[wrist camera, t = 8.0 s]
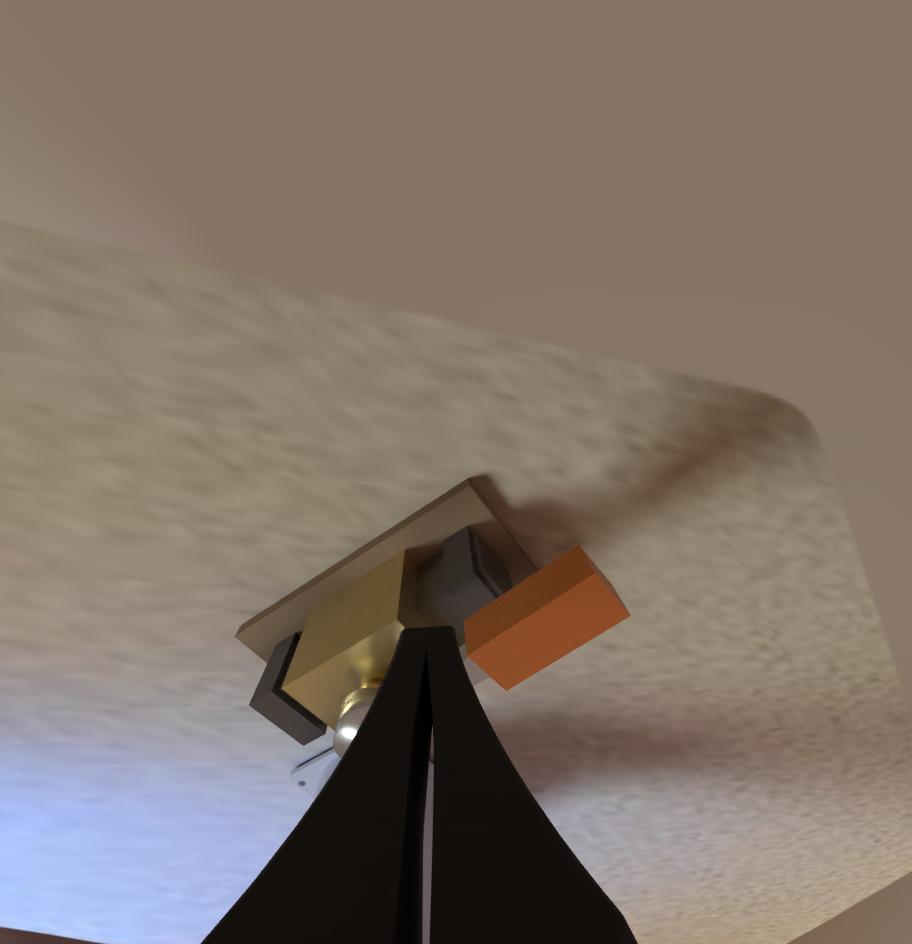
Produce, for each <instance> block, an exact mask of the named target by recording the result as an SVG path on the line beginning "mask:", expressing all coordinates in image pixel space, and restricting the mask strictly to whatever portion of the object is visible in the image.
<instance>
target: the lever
mask: <svg viewBox="0 0 912 944" xmlns="http://www.w3.org/2000/svg"><path fill="white" fill-rule="evenodd" d="M629 616H631V615H630V614H629V612H628V610H627V609H626V607H625V605H624V604H623V602H622V600H621V599H620V597H619V595H618V594H617V592H616V590H615V589H614V587H613V586H612V584H611V583H610V581H609V580H608V579H607V578H606V577H605V575H604V574H603V573H602V572H601V571H600V569H599V568H598V567H597V566H596V565H595V563H594V562H593V561H592V560H591V559H590V557H589V556H588V555H587V554H586V553H585V551H584V550H583V549H582V548H581V547H580V545H579V544H578V545H577V546H575V547H574V548H572V549H571V550H569V551H568V552H566V553H565V554H563V555H562V556H560V557H559V558H557V559H556V560H554V561H553V562H551V563H550V564H548V565H547V566H545V567H544V568H542V569H541V570H539V571H538V572H536V573H535V574H533V575H532V576H530V577H529V578H527V579H526V580H524V581H523V582H521V583H520V584H518V585H517V586H515V587H514V588H512V589H511V590H509V591H508V592H506V593H505V594H503V595H502V596H500V597H499V598H497V599H496V600H494V601H493V602H491V603H490V604H488V605H487V606H485V607H484V608H482V609H481V610H479V611H478V612H476V613H475V614H473V615H472V616H470V617H469V618H467V619H466V620H464V630H465V641H466V643H465V644H463V645H462V646H460V647H459V651H460V654H461V657H462V660H463V663H464V666H465V669H466V671H467V674H468V676H469V679H470V681H471V683H472V686H475V685H476V684H478V683H479V682H481V681H483V680H484V679H486V678H488V677H489V676H490V677H491V678H492V679H494V680H495V681H496V682H497V683H498V684H499V685H500V686H501V687H503V688H504V689H505V690H506V691H507V690H509V689H510V688H512V687H514V686H515V685H517V684H519V683H520V682H522V681H523V680H525V679H527V678H528V677H530V676H532V675H533V674H535V673H537V672H538V671H540V670H542V669H543V668H545V667H547V666H548V665H550V664H552V663H553V662H555V661H557V660H558V659H560V658H562V657H563V656H565V655H566V654H568V653H570V652H571V651H573V650H575V649H576V648H578V647H580V646H581V645H583V644H585V643H586V642H588V641H590V640H591V639H593V638H595V637H596V636H598V635H600V634H601V633H603V632H605V631H606V630H608V629H609V628H611V627H613V626H614V625H616V624H618V623H619V622H621V621H623V620H624V619H626V618H628V617H629ZM379 688H380V687H365V688H361V689H358V690H356V691H353V692H352V693H350V694H349V695H348V696H347V697H346V698H345V699H344V700H343V702H342V705H341V709H340V714H339V718H338V723H337V727H336V732H335V736H334V741H333V747H334V750H335V752H336V754H337V755H338V756H339V757H340V758H341V759H342V757H343V755H344V754H345V752H346V750H347V749H348V747H349V745H350V743H351V742H352V740H353V738H354V736H355V735H356V733H357V731H358V729H359V727H360V725H361V723H362V721H363V720H364V718H365V716H366V714H367V712H368V710H369V708H370V706H371V704H372V702H373V700H374V698H375V696H376V694H377V692H378V690H379Z"/></svg>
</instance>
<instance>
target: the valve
mask: <svg viewBox="0 0 912 944" xmlns="http://www.w3.org/2000/svg"><path fill="white" fill-rule="evenodd" d="M512 588H513V584H512V580H511V577H510V573H509V571H508V570H507V568H506V567H505V566H504V565H503V563H502V562H501V561H500V560H499V558H498V557H497V556H496V555H495V553H494V552H493V551H492V550H491V548H490V547H489V546H488V544H487V543H486V542H485V541H484V539H483V538H482V537H481V536H480V534H479V533H478V532H477V531H476V530H475V531H474V532H472V531H471V530H470V529H469V528H468V526H466V527H464V528H462V529H461V530H459V531H458V532H456V533H454V534H453V535H451V536H450V537H448V538H446V539H445V540H443V551H441V552H440V553H438V554H437V555H435V556H433V557H432V558H430V559H428V560H427V561H425V562H424V563H422V564H420V565H419V564H418V563H417V562H416V561H415V560H414V559H413V558H412V557H411V556H410V554H409V553H408V552H407V551H406V550H403V551H401V552H400V553H398V554H397V555H395V556H393V557H392V558H390V559H389V560H387V561H386V562H384V563H382V564H381V565H379V566H378V567H376V568H374V569H373V570H371V571H370V572H368V573H367V574H365V575H363V576H362V577H360V578H359V579H357V580H355V581H354V582H352V583H351V584H349V585H348V586H346V587H344V588H343V589H341V590H340V591H338V592H336V593H335V594H333V595H332V596H330V597H328V598H327V599H325V600H324V601H322V602H321V603H319V604H317V605H316V606H314V607H313V608H312V609H311V612H310V615H309V617H308V620H307V622H306V625H305V628H304V630H303V633H302V635H301V637H300V636H299V635H298V634H297V633H296V632H295V633H294V634H292V635H291V636H289V637H287V638H286V639H284V640H282V641H281V642H279V643H278V644H276V646H275V648H274V650H273V652H272V655H271V657H270V659H269V661H268V663H267V666H266V668H265V670H264V672H263V675H262V677H261V679H260V681H259V684H258V686H257V688H256V690H255V693H254V695H253V697H252V699H251V701H250V704H249V706H251V707H252V708H253V709H255V710H256V711H257V712H259V713H260V714H261V715H263V716H264V717H265V718H267V719H268V720H269V721H271V722H272V723H274V724H275V725H276V726H278V727H279V728H280V729H282V730H283V731H284V732H286V733H287V734H288V735H290V736H291V737H292V738H294V739H295V740H296V741H298V742H299V743H300V744H302V745H303V746H304V745H306V744H308V743H309V742H311V741H313V740H315V739H317V738H319V737H320V736H322V735H324V734H325V733H326V729H327V725H328V726H329V727H331V728H332V729H333V730H334V731H336V727H337V723H338V718H339V714H340V709H341V705H342V702H343V700H344V699H345V698H346V697H347V696H348V695H349V694H350V693H352V692H353V691H356V690H358V689H361V688H365V687H380V685H381V683H382V681H383V679H384V677H385V675H386V672H387V670H388V667H389V665H390V662H391V660H392V657H393V655H394V652H395V649H396V646H397V643H398V640H399V637H400V633H401V631H402V630H403V629H405V628H418V627H435V626H452V627H453V628H454V629H455V634H456V639H457V643H458V647H460V646H462V645H463V644H465V643H466V641H465V630H464V620H466V619H467V618H469V617H470V616H472V615H473V614H475V613H476V612H478V611H479V610H481V609H482V608H484V607H485V606H487V605H488V604H490V603H491V602H493V601H494V600H496V599H497V598H499V597H500V596H502V595H503V594H505V593H506V592H508V591H509V590H511V589H512Z"/></svg>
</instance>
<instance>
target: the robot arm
mask: <svg viewBox="0 0 912 944" xmlns="http://www.w3.org/2000/svg"><path fill="white" fill-rule="evenodd" d="M432 725H433V736H434V764H433V763H431V762H430V761H429V759H430V746H431V734H432ZM289 780H290V781H291V782H292V783H293V784H294V785H296V786H297V787H299V788H300V789H302V790H303V791H305V792H306V793H307V794H309V795H310V796H312V797H313V798H314V799H313V803H312V804H311V806H310V807H309V809H308V810H307V812H306V813H305V815H304V816H303V817H302V819H301V820H300V822H299V823H298V824H297V826H296V827H295V828H294V830H293V831H292V832H291V834H290V835H289V836H288V838H287V839H286V840H285V841H284V843H283V844H282V845H281V847H280V848H279V849H278V851H277V852H276V853H275V854H274V856H273V857H272V858H271V860H270V861H269V862H268V864H267V865H266V866H265V867H264V869H263V870H262V871H261V873H260V874H259V875H258V877H257V878H256V879H255V880H254V881H253V883H252V884H251V885H250V886H249V888H248V889H247V890H246V891H245V892H244V894H243V895H242V896H241V897H240V898H239V899H238V901H237V902H236V903H235V904H234V905H233V906H232V908H231V909H230V910H229V911H228V912H227V913H226V915H225V916H224V917H223V918H222V919H221V920H220V922H219V923H218V924H217V925H216V926H215V927H214V929H213V930H212V931H211V932H210V933H209V935H208V936H207V937H206V938H205V939H204V940H203V942H202V943H201V944H638V943H637V941H636V939H635V937H634V935H633V933H632V931H631V930H630V928H629V926H628V924H627V922H626V920H625V918H624V916H623V915H622V913H621V912H620V911H619V910H618V908H617V907H616V906H615V905H614V903H613V902H612V901H611V900H610V899H609V897H608V896H607V895H606V894H605V893H604V891H603V890H602V889H601V888H600V886H599V885H598V884H597V883H596V881H595V880H594V879H593V878H592V876H591V875H590V874H589V873H588V871H587V870H586V869H585V868H584V866H583V865H582V864H581V862H580V861H579V860H578V858H577V857H576V856H575V855H574V853H573V852H572V851H571V849H570V848H569V847H568V845H567V844H566V843H565V841H564V840H563V839H562V837H561V836H560V835H559V833H558V832H557V830H556V829H555V827H554V826H553V824H552V823H551V822H550V820H549V819H548V817H547V816H546V814H545V813H544V811H543V810H542V809H541V807H540V806H539V804H538V803H537V801H536V800H535V798H534V797H533V796H532V794H531V793H530V791H529V790H528V788H527V786H526V785H525V783H524V782H523V780H522V778H521V777H520V775H519V774H518V772H517V770H516V769H515V767H514V766H513V764H512V762H511V760H510V759H509V757H508V755H507V754H506V752H505V750H504V748H503V747H502V745H501V743H500V741H499V739H498V738H497V736H496V734H495V732H494V730H493V728H492V726H491V724H490V722H489V720H488V718H487V716H486V714H485V712H484V710H483V708H482V706H481V704H480V702H479V700H478V697H477V695H476V693H475V690H474V688H473V686H472V683H471V681H470V679H469V676H468V674H467V671H466V669H465V666H464V663H463V660H462V657H461V654H460V651H459V647H458V643H457V639H456V634H455V629H454V628H453V627H452V626H435V627H418V628H405V629H403V630H402V631H401V633H400V637H399V640H398V643H397V646H396V649H395V652H394V655H393V657H392V660H391V662H390V665H389V667H388V670H387V672H386V675H385V677H384V679H383V681H382V683H381V685H380V688H379V690H378V692H377V694H376V696H375V698H374V700H373V702H372V704H371V706H370V708H369V710H368V712H367V714H366V716H365V718H364V720H363V721H362V723H361V725H360V727H359V729H358V731H357V733H356V735H355V736H354V738H353V740H352V742H351V743H350V745H349V747H348V749H347V750H346V752H345V754H344V755H343V757H342V759H341V758H340V757H339V756H338V755H337V754H336V752H335V750H334V748H333V749H331V750H329V751H328V752H326V753H324V754H322V755H320V756H318V757H317V758H315V759H313V760H311V761H309V762H307V763H305V764H304V765H302V766H300V767H298V768H296V769H294V770H293V771H291V773H290V777H289Z"/></svg>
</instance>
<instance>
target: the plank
mask: <svg viewBox="0 0 912 944" xmlns="http://www.w3.org/2000/svg"><path fill="white" fill-rule="evenodd" d="M466 526H468V528H469V529H470V530H471V531H472V532H474V531H475V530H476V531H477V532H478V533H479V534H480V536H481V537H482V538H483V539H484V541H485V542H486V543H487V544H488V546H489V547H490V548H491V550H492V551H493V552H494V553H495V555H496V556H497V557H498V558H499V560H500V561H501V562H502V563H503V565H504V566H505V567H506V568H507V570H508V571H509V573H510V577H511V580H512V584H513V588H514V587H515V586H517V585H518V584H520V583H521V582H523V581H524V580H526V579H527V578H529V577H530V576H532V575H533V574H535V573H536V572H538V570H537V569H536V567H535V566H534V565H533V563H532V562H531V561H530V559H529V558H528V557H527V555H526V554H525V553H524V551H523V550H522V549H521V547H520V546H519V545H518V543H517V542H516V541H515V539H514V538H513V537H512V535H511V534H510V533H509V531H508V530H507V529H506V528H505V526H504V525H503V524H502V522H501V521H500V520H499V518H498V517H497V516H496V514H495V513H494V512H493V510H492V509H491V508H490V506H489V505H488V504H487V502H486V501H485V500H484V498H483V497H482V496H481V494H480V493H479V492H478V490H477V489H476V488H475V486H474V485H473V484H472V483H471V481H470V480H469V479H466V480H465V481H463V482H462V483H460V484H459V485H457V486H456V487H454V488H452V489H451V490H449V491H448V492H446V493H445V494H443V495H442V496H440V497H439V498H437V499H435V500H434V501H432V502H431V503H429V504H428V505H426V506H425V507H423V508H422V509H420V510H419V511H417V512H415V513H414V514H412V515H411V516H409V517H408V518H406V519H405V520H403V521H402V522H400V523H398V524H397V525H395V526H394V527H392V528H391V529H389V530H388V531H386V532H385V533H383V534H381V535H380V536H378V537H377V538H375V539H374V540H372V541H371V542H369V543H368V544H366V545H364V546H363V547H361V548H360V549H358V550H357V551H355V552H354V553H352V554H351V555H349V556H348V557H346V558H344V559H343V560H341V561H340V562H338V563H337V564H335V565H334V566H332V567H331V568H329V569H327V570H326V571H324V572H323V573H321V574H320V575H318V576H317V577H315V578H314V579H312V580H310V581H309V582H307V583H306V584H304V585H303V586H301V587H300V588H298V589H297V590H295V591H293V592H292V593H290V594H289V595H287V596H286V597H284V598H283V599H281V600H280V601H278V602H277V603H275V604H273V605H272V606H270V607H269V608H267V609H266V610H264V611H263V612H261V613H260V614H258V615H256V616H255V617H253V618H252V619H250V620H249V621H247V622H246V623H244V624H243V625H241V626H240V628H239V630H238V632H237V633H236V635H235V637H236V638H237V639H238V640H240V641H241V642H242V643H243V644H244V645H246V646H247V647H248V648H249V649H251V650H252V651H253V652H254V653H256V654H257V655H258V656H259V657H261V658H262V659H263V660H264V661H266V662H267V663H268V661H269V659H270V657H271V655H272V652H273V650H274V648H275V646H276V644H278V643H279V642H281V641H282V640H284V639H286V638H287V637H289V636H291V635H292V634H294V633H295V632H296V633H297V634H298V635H299V636H300V637H301V635H302V633H303V630H304V628H305V625H306V622H307V620H308V617H309V615H310V612H311V609H312V608H313V607H314V606H316V605H317V604H319V603H321V602H322V601H324V600H325V599H327V598H328V597H330V596H332V595H333V594H335V593H336V592H338V591H340V590H341V589H343V588H344V587H346V586H348V585H349V584H351V583H352V582H354V581H355V580H357V579H359V578H360V577H362V576H363V575H365V574H367V573H368V572H370V571H371V570H373V569H374V568H376V567H378V566H379V565H381V564H382V563H384V562H386V561H387V560H389V559H390V558H392V557H393V556H395V555H397V554H398V553H400V552H401V551H403V550H406V551H407V552H408V553H409V554H410V556H411V557H412V558H413V559H414V560H415V561H416V562H417V563H418V564H419V565H420V564H422V563H424V562H425V561H427V560H428V559H430V558H432V557H433V556H435V555H437V554H438V553H440V552H441V551H443V540H445V539H446V538H448V537H450V536H451V535H453V534H454V533H456V532H458V531H459V530H461V529H462V528H464V527H466Z"/></svg>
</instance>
